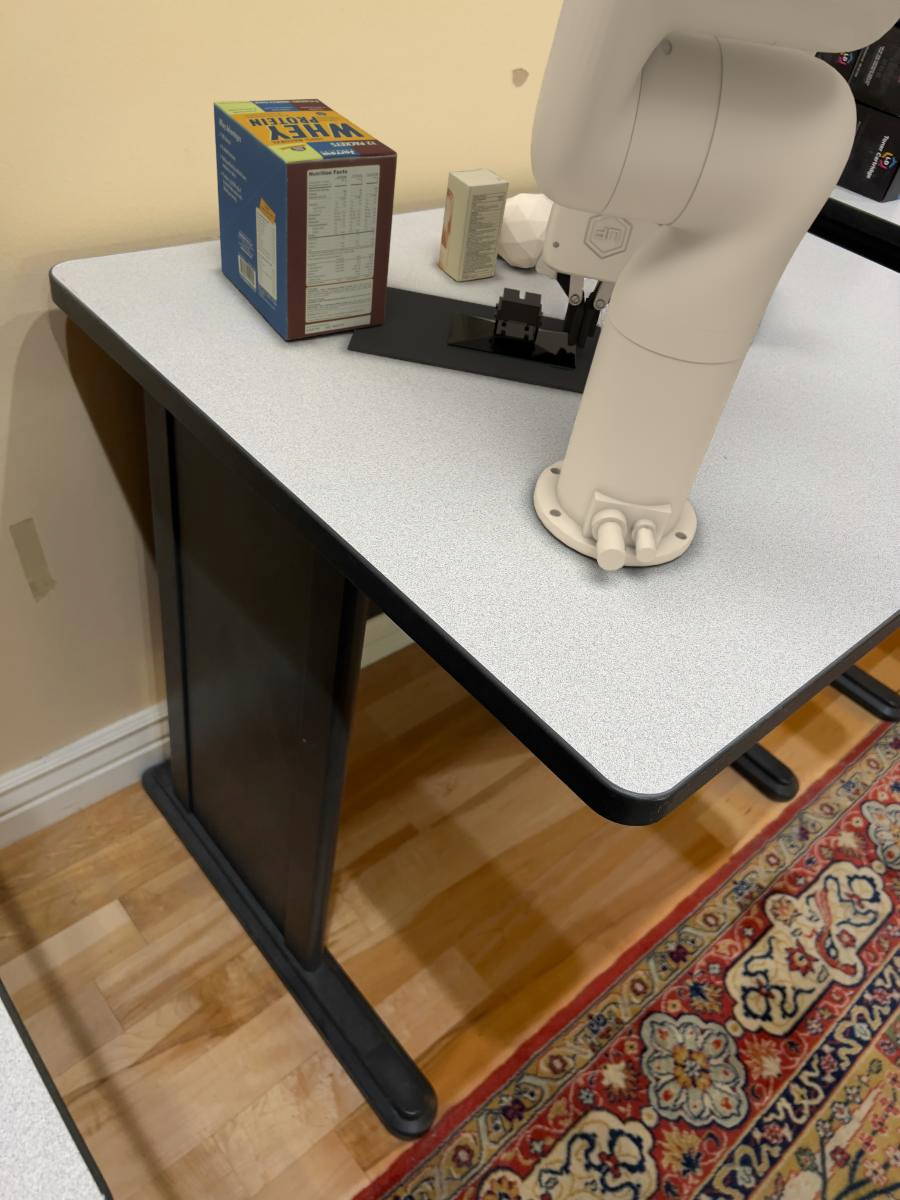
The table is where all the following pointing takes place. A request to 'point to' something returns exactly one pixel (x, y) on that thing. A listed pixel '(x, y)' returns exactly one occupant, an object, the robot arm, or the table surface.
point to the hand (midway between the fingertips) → (575, 340)
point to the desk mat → (422, 337)
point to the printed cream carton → (472, 223)
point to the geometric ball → (524, 229)
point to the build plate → (513, 333)
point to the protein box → (304, 214)
